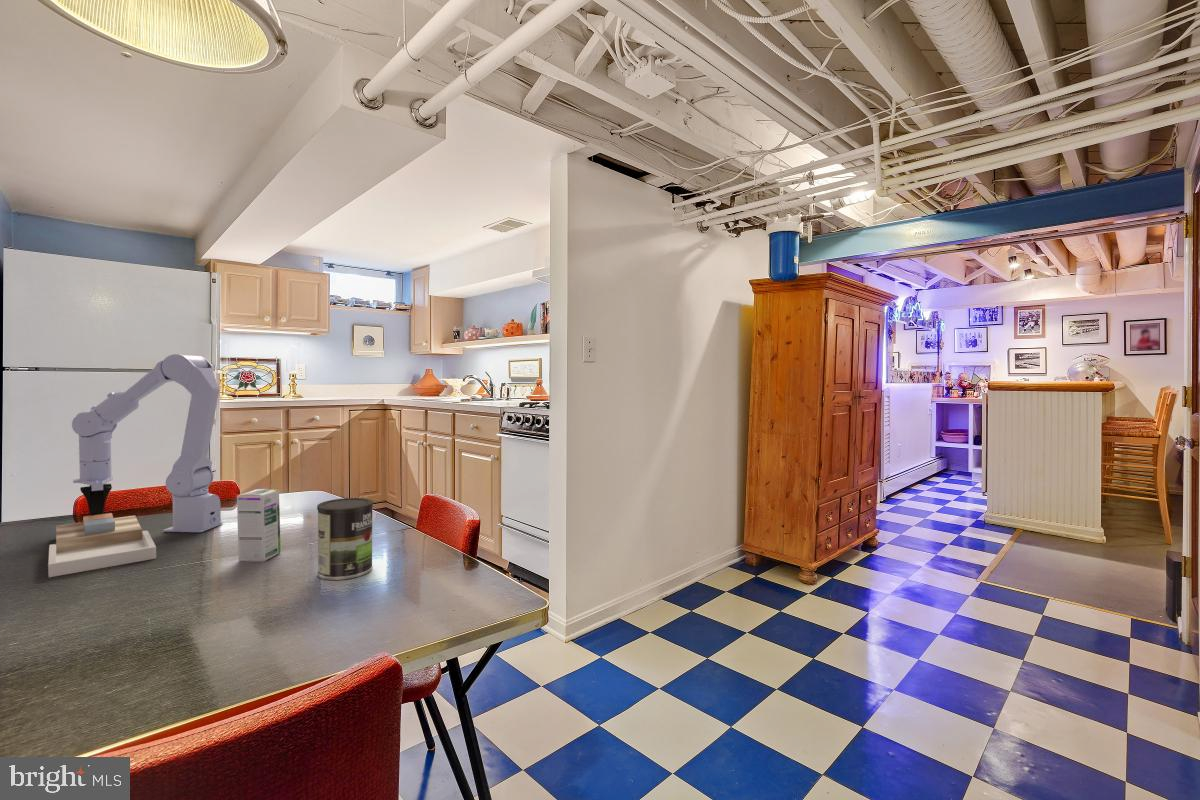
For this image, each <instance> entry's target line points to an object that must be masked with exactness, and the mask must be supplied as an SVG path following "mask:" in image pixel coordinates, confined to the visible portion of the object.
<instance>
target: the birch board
mask: <svg viewBox="0 0 1200 800" xmlns="http://www.w3.org/2000/svg"><path fill="white" fill-rule="evenodd" d="M113 518H114V521H115V531H108V532H101V533H94V534H87V535H85V532H84V525H83V521H82V522H75V523H74V522H73V523H67V524H66V523H65V524H61V525H60V524H59V525H56V528H55V530H56V531H55V532H56V533H55V534H56V535H55V538H56V539H55V544H56V553H60V552H66V551H73V550H79V549H85V548H92V547H98V546H105V545H111V544H118V543H124V542H131V541H137V540H142V531H143V528H142V526H141V525H140V523H139V520H138V519H137V516H136V515H128V516H122V517H121V516H120V517H113Z"/></svg>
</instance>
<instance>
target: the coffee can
mask: <svg viewBox="0 0 1200 800" xmlns="http://www.w3.org/2000/svg"><path fill="white" fill-rule="evenodd" d="M373 506H374V500H372V499H370V498H363V497H346V498H335V499H329V500H326V501H325V500H324V501H323V502H320V503H318V504H317V506H316V509H317V552H318V553H317V577H319V578H320V579H322V580H327V581H345V580H351V578H352V579H356V578H359V577H362V576H365V575H367V574H369V573H370V572H371V571H372V570H373V567H374V566H373ZM368 572H369V573H368ZM366 573H367V574H366ZM364 574H365V575H364ZM361 575H362V576H361ZM355 577H356V578H355Z"/></svg>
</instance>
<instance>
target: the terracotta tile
mask: <svg viewBox="0 0 1200 800" xmlns="http://www.w3.org/2000/svg"><path fill="white" fill-rule="evenodd" d="M113 515H114V514H113V513H112V512H109V513H103V514H100V515H92V516H91V515H86V516H84V515H83V517H82V518H83V519H82V522H83V525H84V521H91V520H98V519H106V518H114V516H113Z"/></svg>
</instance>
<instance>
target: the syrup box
mask: <svg viewBox="0 0 1200 800" xmlns="http://www.w3.org/2000/svg"><path fill="white" fill-rule="evenodd" d="M236 507H237V508H236V511H237V517H236V518H237V541H238V542H237V543H238V544H237V548H238V549H237V550H238V552H237V553H238V561H240V562H252V563H254V562H257V563H260V562H261V563H264V562H266V561H267V560H269V559H271V558H273V557H275V556H277V555H279V554H280V553H281V551H282V549H281V519H280V518H281V517H280V516H281V515H280V490H279V489H276V488H275V489H273V488H258V489H254V490H253V489H252V490H250V491H247V492H244V493H241V494H237V495H236Z"/></svg>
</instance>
